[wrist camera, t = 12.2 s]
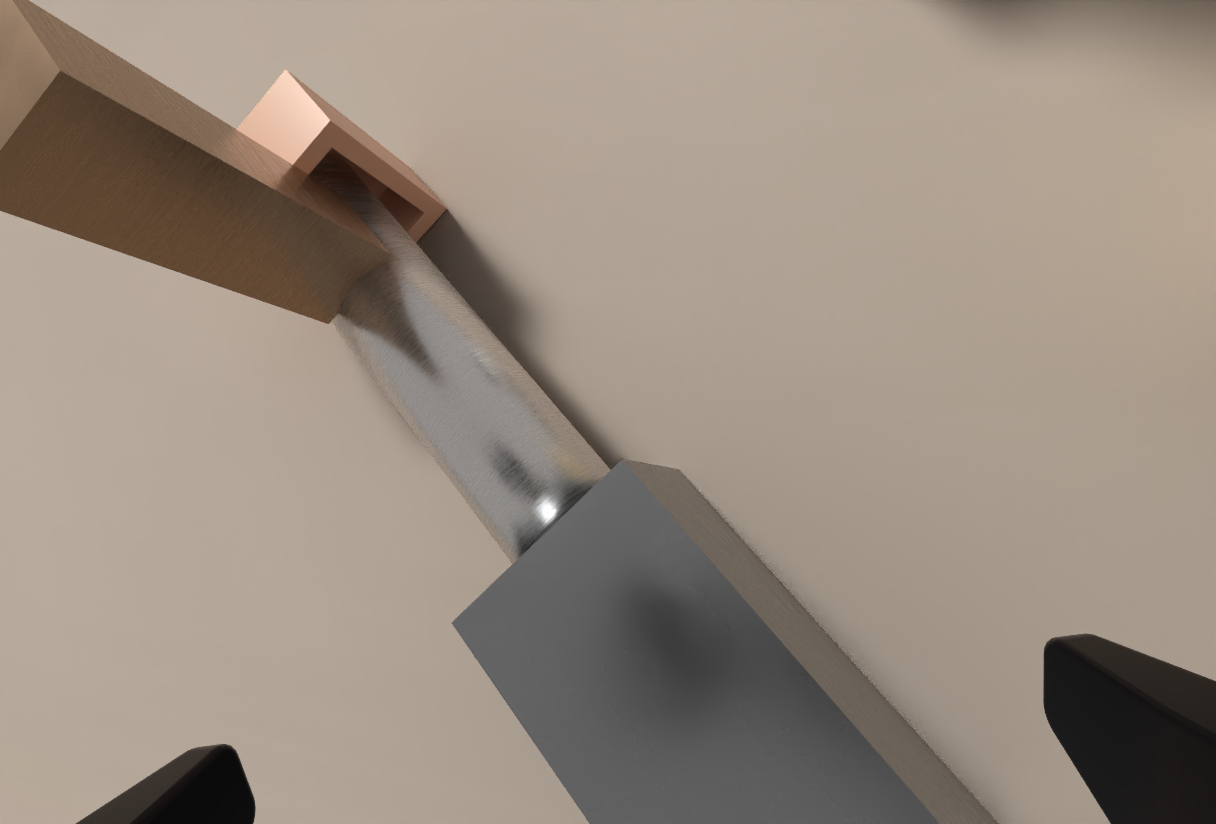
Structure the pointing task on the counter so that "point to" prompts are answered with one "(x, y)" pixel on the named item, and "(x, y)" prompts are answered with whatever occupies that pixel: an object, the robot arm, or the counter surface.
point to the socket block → (338, 150)
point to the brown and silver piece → (280, 258)
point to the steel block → (692, 676)
